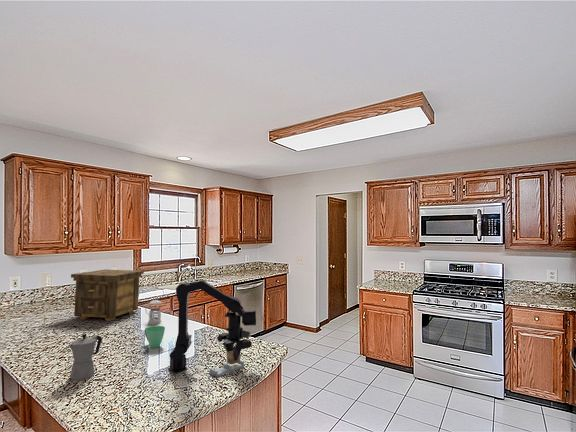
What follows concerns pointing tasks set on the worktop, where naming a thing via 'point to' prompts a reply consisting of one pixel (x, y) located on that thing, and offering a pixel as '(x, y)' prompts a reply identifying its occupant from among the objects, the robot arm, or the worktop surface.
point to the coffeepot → (84, 357)
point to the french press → (156, 309)
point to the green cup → (154, 335)
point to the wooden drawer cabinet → (106, 293)
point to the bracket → (226, 369)
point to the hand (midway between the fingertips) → (233, 359)
